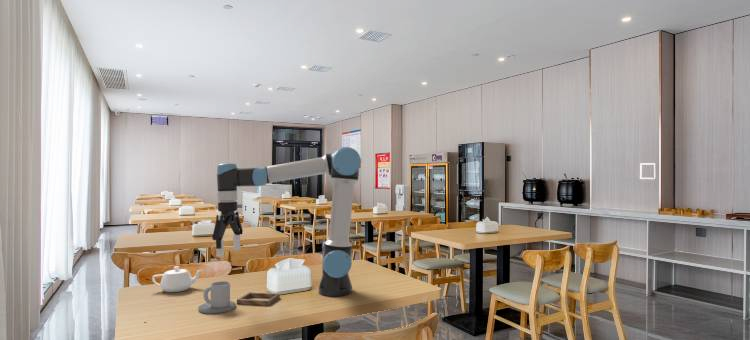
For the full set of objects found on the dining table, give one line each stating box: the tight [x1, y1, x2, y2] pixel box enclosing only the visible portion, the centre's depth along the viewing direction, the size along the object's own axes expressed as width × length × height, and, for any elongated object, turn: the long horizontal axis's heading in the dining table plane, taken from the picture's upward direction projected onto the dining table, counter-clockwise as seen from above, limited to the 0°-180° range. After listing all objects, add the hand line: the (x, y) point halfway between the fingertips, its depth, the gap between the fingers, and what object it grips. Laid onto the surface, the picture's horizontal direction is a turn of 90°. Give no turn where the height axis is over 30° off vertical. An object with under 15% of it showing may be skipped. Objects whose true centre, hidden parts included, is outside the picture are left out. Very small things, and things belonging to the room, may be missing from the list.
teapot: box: [151, 265, 203, 293], centre depth 199 cm, size 22×14×11 cm, turn 109°
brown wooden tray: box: [236, 291, 281, 307], centre depth 181 cm, size 14×11×2 cm
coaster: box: [197, 300, 237, 315], centre depth 171 cm, size 14×14×1 cm
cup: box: [203, 280, 231, 308], centre depth 171 cm, size 7×10×9 cm
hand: (228, 253), depth 175 cm, fingers open, 13 cm apart
